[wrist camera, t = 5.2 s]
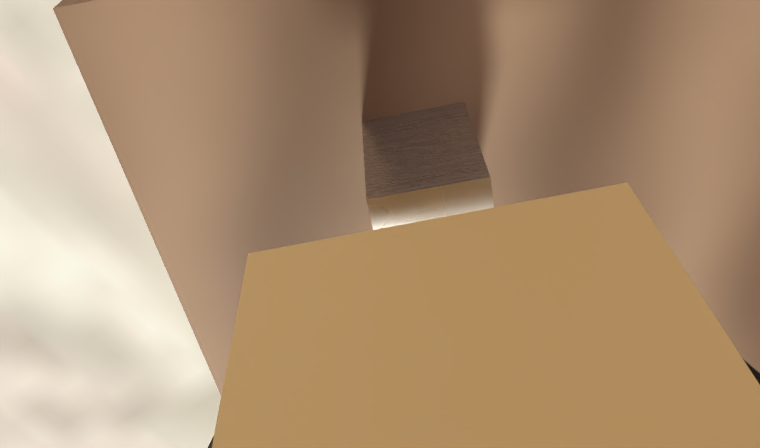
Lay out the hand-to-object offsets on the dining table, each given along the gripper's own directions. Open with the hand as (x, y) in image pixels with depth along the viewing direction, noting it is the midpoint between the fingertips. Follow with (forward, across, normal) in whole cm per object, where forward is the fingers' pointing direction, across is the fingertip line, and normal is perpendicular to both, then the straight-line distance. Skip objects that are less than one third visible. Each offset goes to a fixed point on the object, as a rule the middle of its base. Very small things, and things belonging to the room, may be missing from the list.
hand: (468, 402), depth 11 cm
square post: (+8, 0, 0) cm, 8 cm away
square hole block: (+1, 0, 0) cm, 1 cm away
